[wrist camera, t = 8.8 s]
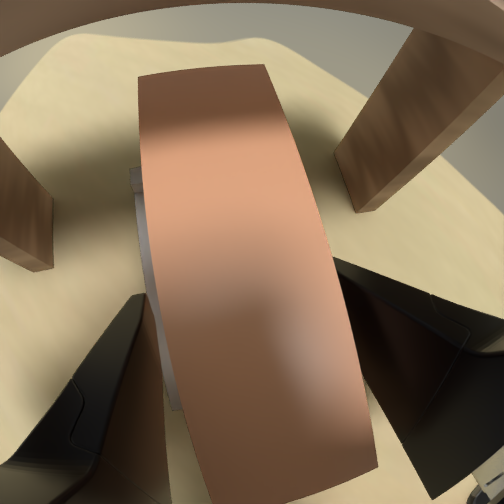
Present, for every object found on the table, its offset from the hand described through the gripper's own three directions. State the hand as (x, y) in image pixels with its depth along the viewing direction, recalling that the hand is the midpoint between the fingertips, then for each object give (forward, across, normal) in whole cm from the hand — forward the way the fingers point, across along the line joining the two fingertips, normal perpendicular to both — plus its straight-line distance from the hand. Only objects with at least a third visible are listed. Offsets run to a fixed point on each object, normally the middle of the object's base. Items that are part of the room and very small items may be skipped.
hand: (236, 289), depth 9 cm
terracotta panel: (+6, 0, +5) cm, 8 cm away
